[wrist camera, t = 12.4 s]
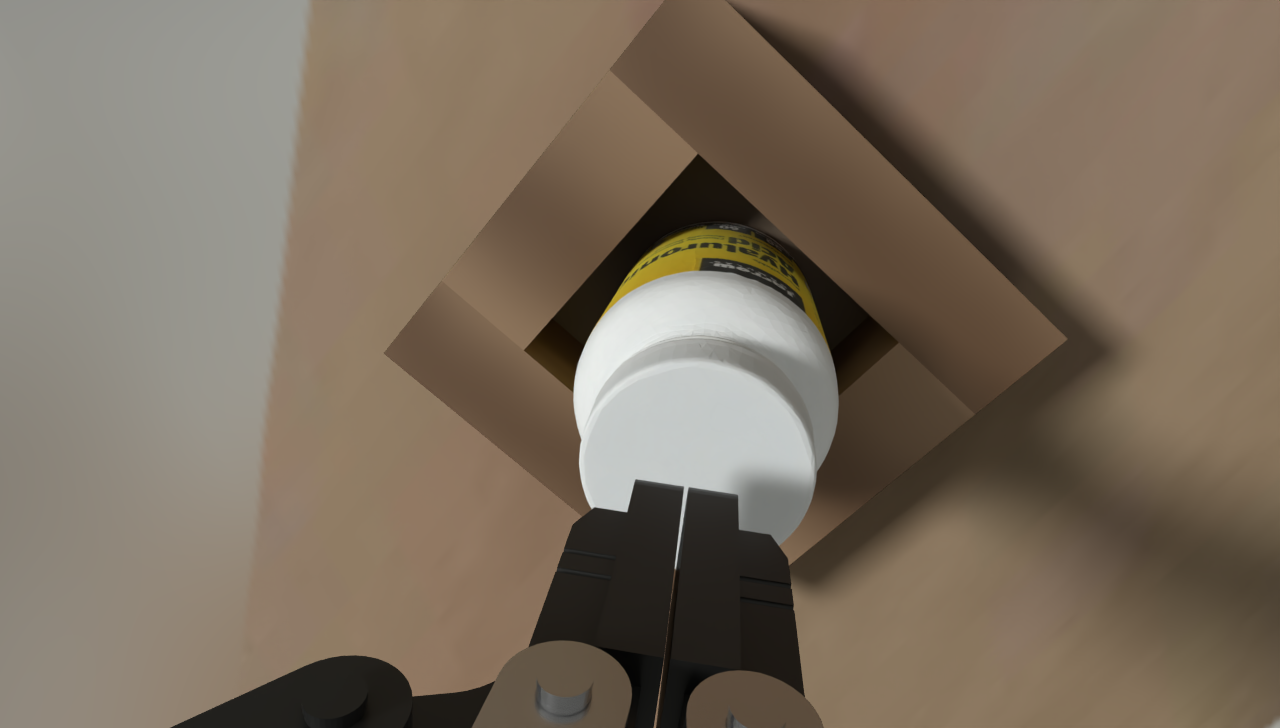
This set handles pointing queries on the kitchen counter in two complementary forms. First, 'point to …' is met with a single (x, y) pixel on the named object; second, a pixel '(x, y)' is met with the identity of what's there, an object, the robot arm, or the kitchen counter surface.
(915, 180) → the kitchen counter surface
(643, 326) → the supplement bottle
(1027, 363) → the socket block
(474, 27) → the kitchen counter surface
